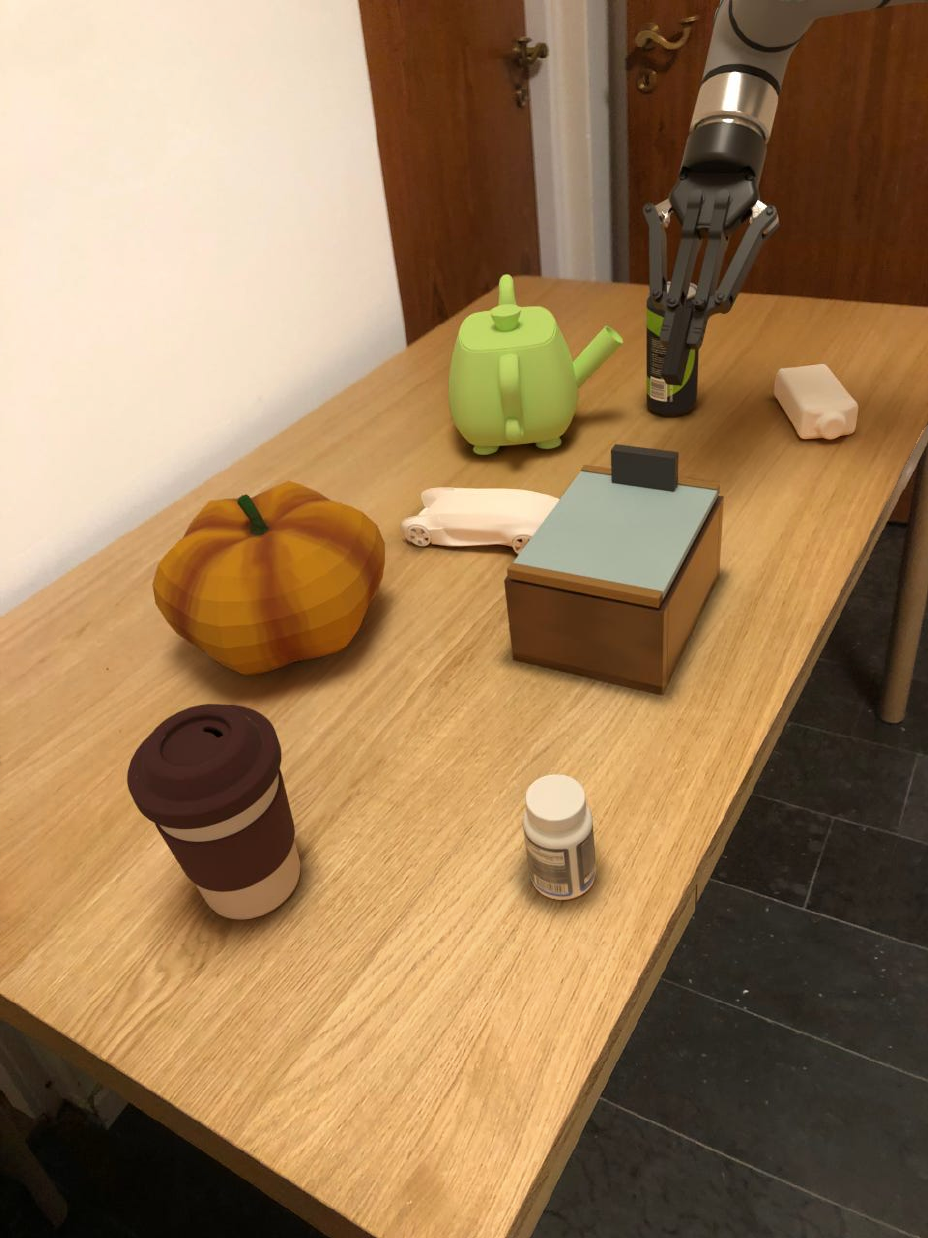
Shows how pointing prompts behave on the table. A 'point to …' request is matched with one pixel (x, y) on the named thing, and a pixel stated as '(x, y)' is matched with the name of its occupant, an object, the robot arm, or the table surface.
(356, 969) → the table surface
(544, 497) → the toy car
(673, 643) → the case
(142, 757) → the coffee cup
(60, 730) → the table surface
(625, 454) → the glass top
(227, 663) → the decorative pumpkin
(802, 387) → the white bottle
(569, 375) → the teapot
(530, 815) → the pill bottle
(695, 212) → the robot arm
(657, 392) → the beverage can
